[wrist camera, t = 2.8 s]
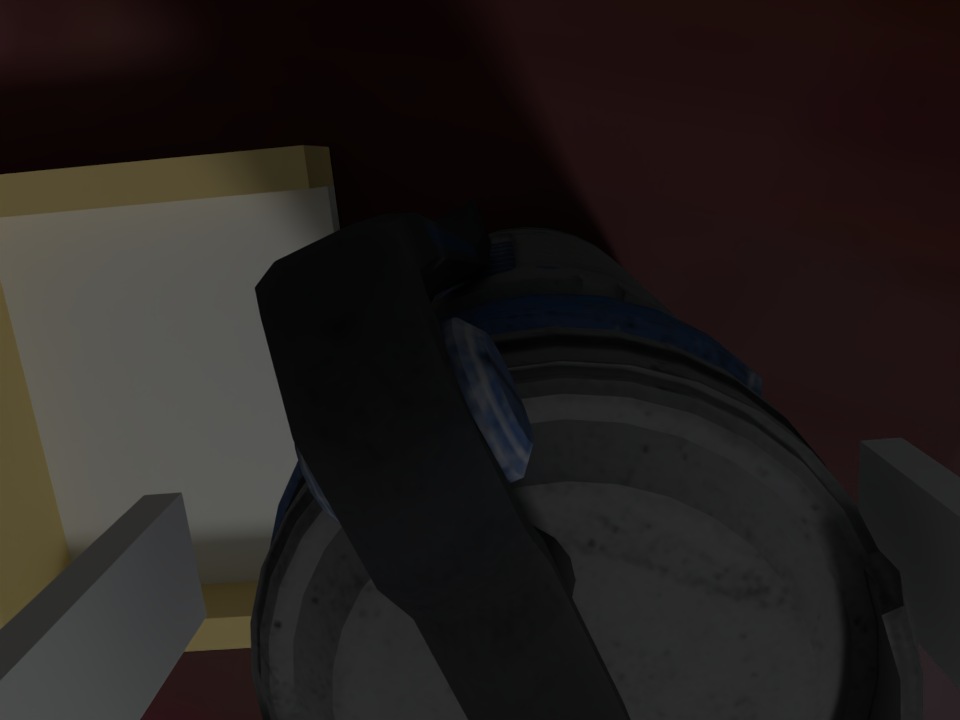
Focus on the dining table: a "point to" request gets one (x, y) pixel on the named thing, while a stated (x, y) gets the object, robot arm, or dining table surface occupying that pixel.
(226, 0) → the dining table surface
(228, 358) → the dock bay
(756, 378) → the beverage bottle
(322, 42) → the dining table surface
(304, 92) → the dining table surface
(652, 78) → the dining table surface
